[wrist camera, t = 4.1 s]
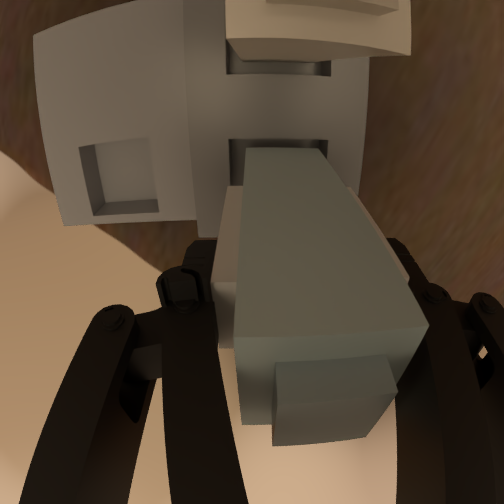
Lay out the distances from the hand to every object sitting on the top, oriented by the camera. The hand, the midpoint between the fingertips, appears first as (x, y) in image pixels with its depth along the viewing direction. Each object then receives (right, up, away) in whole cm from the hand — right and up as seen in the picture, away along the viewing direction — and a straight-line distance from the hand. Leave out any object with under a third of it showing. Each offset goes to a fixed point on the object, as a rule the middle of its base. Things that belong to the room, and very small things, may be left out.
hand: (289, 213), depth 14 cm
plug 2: (0, +2, +3) cm, 4 cm away
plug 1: (0, +11, +1) cm, 11 cm away
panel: (-6, +9, +6) cm, 12 cm away
